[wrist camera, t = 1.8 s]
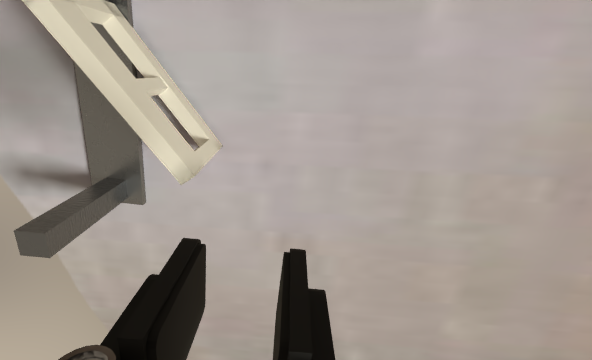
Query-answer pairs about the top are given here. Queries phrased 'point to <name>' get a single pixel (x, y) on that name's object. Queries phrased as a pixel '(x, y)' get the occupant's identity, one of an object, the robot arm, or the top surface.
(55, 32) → the gate
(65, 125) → the top surface
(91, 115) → the gate frame
